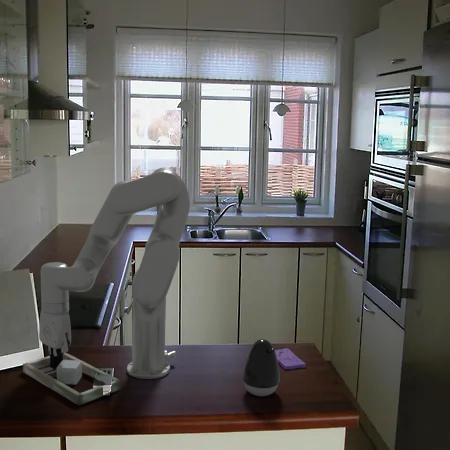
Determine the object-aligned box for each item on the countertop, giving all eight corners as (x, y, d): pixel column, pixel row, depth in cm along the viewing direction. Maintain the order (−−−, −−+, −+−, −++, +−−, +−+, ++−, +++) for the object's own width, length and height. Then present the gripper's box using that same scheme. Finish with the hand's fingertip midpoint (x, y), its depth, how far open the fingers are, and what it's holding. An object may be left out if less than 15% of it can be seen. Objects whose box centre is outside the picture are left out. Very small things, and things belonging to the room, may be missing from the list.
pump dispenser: (254, 404, 152) (256, 349, 149) (235, 387, 161) (237, 336, 159) (286, 396, 157) (289, 343, 154) (266, 381, 166) (269, 331, 163)
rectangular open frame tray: (63, 359, 176) (63, 351, 176) (120, 389, 158) (120, 380, 157) (23, 372, 166) (22, 363, 166) (78, 405, 148) (78, 396, 148)
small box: (63, 375, 165) (62, 359, 165) (82, 376, 165) (82, 360, 164) (56, 384, 160) (55, 367, 159) (76, 385, 160) (76, 368, 159)
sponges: (287, 353, 188) (288, 348, 188) (305, 369, 177) (306, 363, 176) (268, 355, 186) (268, 350, 185) (285, 371, 174) (285, 365, 174)
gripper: (29, 302, 166) (31, 363, 169) (58, 315, 156) (59, 379, 159) (52, 297, 171) (54, 356, 174) (81, 309, 161) (82, 371, 165)
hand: (56, 367), depth 167 cm, fingers closed
